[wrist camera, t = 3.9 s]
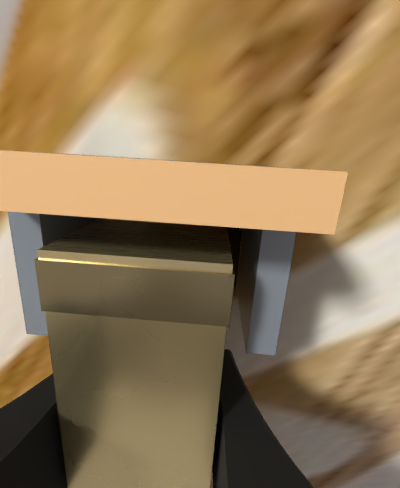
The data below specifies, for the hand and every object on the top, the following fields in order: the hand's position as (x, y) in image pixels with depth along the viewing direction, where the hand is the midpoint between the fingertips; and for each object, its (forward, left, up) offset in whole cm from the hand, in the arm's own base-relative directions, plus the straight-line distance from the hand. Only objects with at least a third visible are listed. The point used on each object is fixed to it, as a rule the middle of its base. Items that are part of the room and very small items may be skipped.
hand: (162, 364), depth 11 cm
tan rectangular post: (-3, 0, -2) cm, 3 cm away
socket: (+5, 0, -2) cm, 6 cm away
